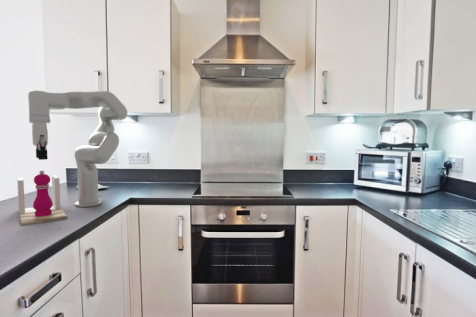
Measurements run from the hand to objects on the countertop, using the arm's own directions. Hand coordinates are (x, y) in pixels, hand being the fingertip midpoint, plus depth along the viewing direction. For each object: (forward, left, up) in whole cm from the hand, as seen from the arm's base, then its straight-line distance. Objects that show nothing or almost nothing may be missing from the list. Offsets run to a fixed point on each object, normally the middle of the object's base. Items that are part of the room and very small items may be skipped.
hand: (41, 158), depth 123 cm
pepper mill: (0, 0, -26) cm, 26 cm away
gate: (-12, -11, -27) cm, 31 cm away
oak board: (0, 0, -27) cm, 27 cm away
